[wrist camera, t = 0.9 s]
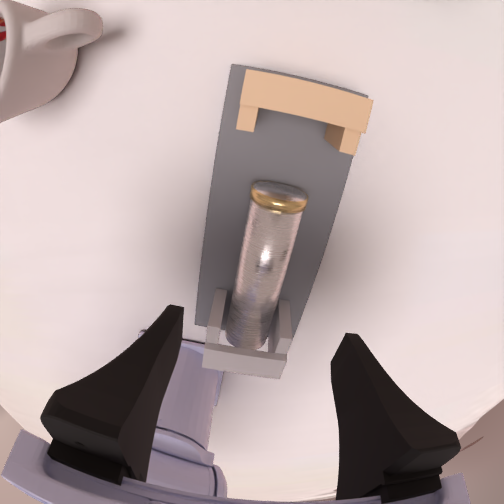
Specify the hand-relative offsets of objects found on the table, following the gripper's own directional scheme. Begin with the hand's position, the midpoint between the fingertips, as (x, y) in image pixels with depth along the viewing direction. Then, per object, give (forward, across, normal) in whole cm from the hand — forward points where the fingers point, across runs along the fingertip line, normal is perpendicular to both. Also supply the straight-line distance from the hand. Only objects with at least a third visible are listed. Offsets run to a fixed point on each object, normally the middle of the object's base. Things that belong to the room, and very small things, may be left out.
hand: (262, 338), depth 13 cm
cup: (+9, +16, -11) cm, 22 cm away
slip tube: (+9, 0, +1) cm, 9 cm away
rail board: (+9, 0, -1) cm, 9 cm away
